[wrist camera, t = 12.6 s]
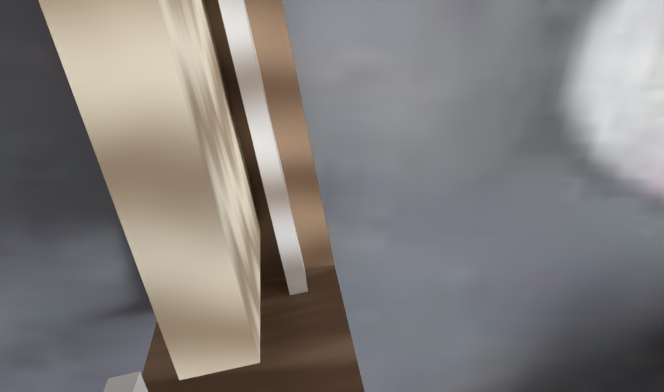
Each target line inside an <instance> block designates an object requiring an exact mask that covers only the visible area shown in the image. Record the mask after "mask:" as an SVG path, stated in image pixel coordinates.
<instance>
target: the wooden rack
mask: <svg viewBox="0 0 664 392" xmlns="http://www.w3.org/2000/svg"><path fill="white" fill-rule="evenodd" d="M204 1H205V5H206V8H207V12H208V16H209V20H210V24H211V28H212V32H213V36H214V40H215V44H216V48H217V52H218V56H219V60H220V64H221V68H222V72H223V76H224V79H225V83H226V87H227V91H228V95H229V99H230V103H231V107H232V111H233V115H234V119H235V123H236V127H237V131H238V135H239V139H240V143H241V147H242V150H243V154H244V158H245V162H246V166H247V170H248V174H249V178H250V182H251V186H252V190H253V194H254V198H255V202H256V206H257V210H258V214H259V218H260V363H257V364H252V365H248V366H243V367H238V368H234V369H229V370H225V371H220V372H215V373H211V374H206V375H202V376H197V377H192V378H188V379H183V380H179V378H178V375H177V373H176V370H175V367H174V365H173V362H172V359H171V357H170V354H169V351H168V348H167V346H166V343H165V340H164V338H163V335H162V332H161V330H160V327H159V324H158V322H157V324H156V328H155V331H154V335H153V338H152V342H151V345H150V349H149V353H148V356H147V360H146V363H145V367H144V370H143V374H142V378H143V380H144V383H145V385H146V388H147V390H148V392H364V388H363V384H362V380H361V376H360V371H359V367H358V363H357V359H356V355H355V350H354V346H353V342H352V338H351V333H350V329H349V325H348V321H347V317H346V312H345V308H344V304H343V300H342V295H341V291H340V287H339V283H338V279H337V274H336V270H335V266H334V261H333V256H332V251H331V246H330V241H329V236H328V231H327V226H326V221H325V216H324V211H323V206H322V201H321V196H320V191H319V186H318V181H317V176H316V171H315V166H314V161H313V155H312V150H311V145H310V140H309V135H308V130H307V125H306V120H305V115H304V110H303V105H302V100H301V95H300V90H299V85H298V80H297V75H296V70H295V65H294V60H293V55H292V50H291V45H290V40H289V35H288V30H287V25H286V20H285V15H284V10H283V5H282V0H204Z"/></svg>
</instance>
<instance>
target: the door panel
mask: <svg viewBox="0 0 664 392" xmlns="http://www.w3.org/2000/svg"><path fill="white" fill-rule="evenodd" d="M39 3H40V6H41V9H42V11H43V14H44V17H45V19H46V22H47V25H48V27H49V30H50V33H51V36H52V38H53V41H54V44H55V46H56V49H57V52H58V54H59V57H60V60H61V63H62V65H63V68H64V71H65V73H66V76H67V79H68V81H69V84H70V87H71V90H72V92H73V95H74V98H75V100H76V103H77V106H78V108H79V111H80V114H81V116H82V119H83V122H84V125H85V127H86V130H87V133H88V135H89V138H90V141H91V143H92V146H93V149H94V152H95V154H96V157H97V160H98V162H99V165H100V168H101V170H102V173H103V176H104V179H105V181H106V184H107V187H108V189H109V192H110V195H111V197H112V200H113V203H114V206H115V208H116V211H117V214H118V216H119V219H120V222H121V224H122V227H123V230H124V232H125V235H126V238H127V241H128V243H129V246H130V249H131V251H132V254H133V257H134V259H135V262H136V265H137V268H138V270H139V273H140V276H141V278H142V281H143V284H144V286H145V289H146V292H147V295H148V297H149V300H150V303H151V305H152V308H153V311H154V313H155V316H156V319H157V322H158V324H159V327H160V330H161V332H162V335H163V338H164V340H165V343H166V346H167V348H168V351H169V354H170V357H171V359H172V362H173V365H174V367H175V370H176V373H177V375H178V378H179V380H183V379H188V378H192V377H197V376H202V375H206V374H211V373H215V372H220V371H225V370H229V369H234V368H238V367H243V366H248V365H252V364H257V363H260V218H259V214H258V210H257V206H256V202H255V198H254V194H253V190H252V186H251V182H250V178H249V174H248V170H247V166H246V162H245V158H244V154H243V150H242V147H241V143H240V139H239V135H238V131H237V127H236V123H235V119H234V115H233V111H232V107H231V103H230V99H229V95H228V91H227V87H226V83H225V79H224V76H223V72H222V68H221V64H220V60H219V56H218V52H217V48H216V44H215V40H214V36H213V32H212V28H211V24H210V20H209V16H208V12H207V8H206V5H205V1H204V0H39Z"/></svg>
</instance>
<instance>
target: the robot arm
mask: <svg viewBox="0 0 664 392" xmlns="http://www.w3.org/2000/svg"><path fill="white" fill-rule="evenodd" d="M103 392H148V390H147V388H146V385H145V383H144V380H143V378H142V376H141V373H140V371H139V372H135V373H130V374H126V375H121V376H117V377H112V378H108V381H107V383H106V386H105V388H104V391H103Z"/></svg>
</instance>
